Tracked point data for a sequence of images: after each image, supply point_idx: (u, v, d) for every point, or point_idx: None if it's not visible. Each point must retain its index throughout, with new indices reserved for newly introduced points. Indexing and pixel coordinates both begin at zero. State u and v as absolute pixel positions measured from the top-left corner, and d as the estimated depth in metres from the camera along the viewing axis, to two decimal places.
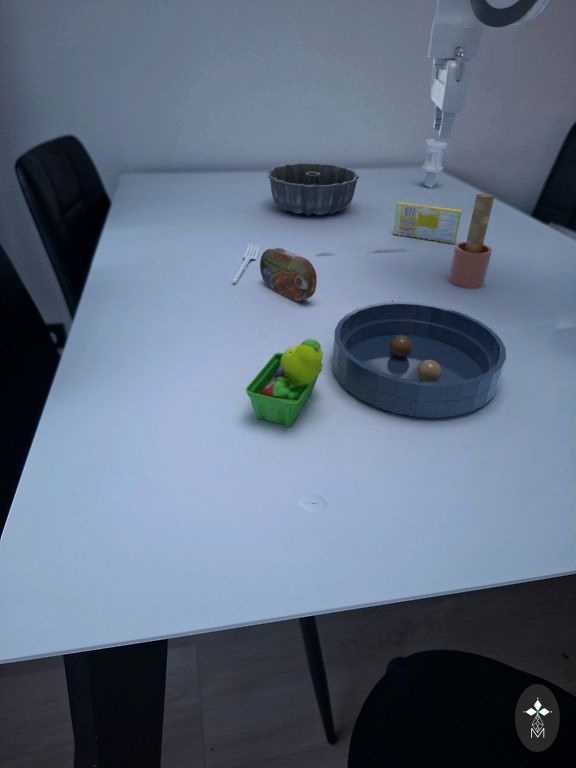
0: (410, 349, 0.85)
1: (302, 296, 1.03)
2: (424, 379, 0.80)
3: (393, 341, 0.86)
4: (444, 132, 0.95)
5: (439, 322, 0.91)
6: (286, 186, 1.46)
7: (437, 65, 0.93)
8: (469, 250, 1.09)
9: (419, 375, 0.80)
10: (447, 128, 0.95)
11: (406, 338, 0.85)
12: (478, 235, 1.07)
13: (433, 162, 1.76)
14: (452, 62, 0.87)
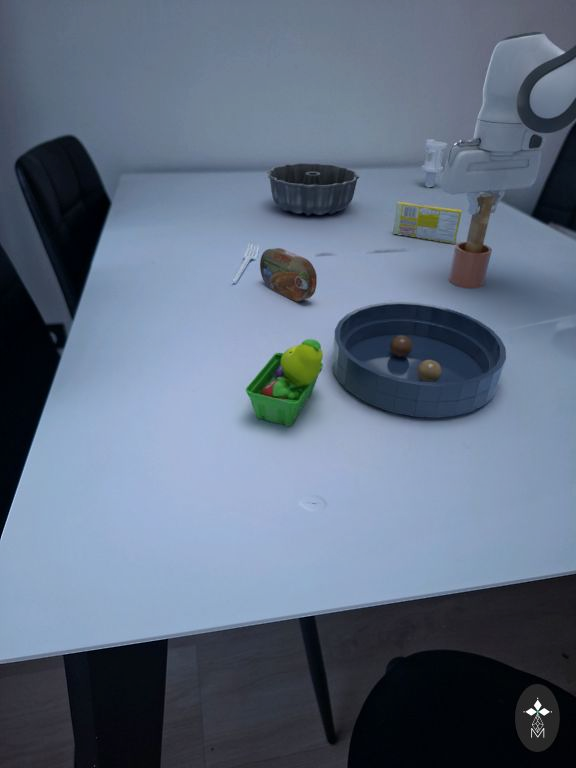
0: (410, 349, 0.85)
1: (302, 296, 1.03)
2: (424, 379, 0.80)
3: (393, 341, 0.86)
4: (471, 208, 1.04)
5: (439, 322, 0.91)
6: (286, 186, 1.46)
7: None
8: (469, 250, 1.09)
9: (419, 375, 0.80)
10: (473, 206, 1.04)
11: (406, 338, 0.85)
12: (478, 235, 1.07)
13: (433, 162, 1.76)
14: None
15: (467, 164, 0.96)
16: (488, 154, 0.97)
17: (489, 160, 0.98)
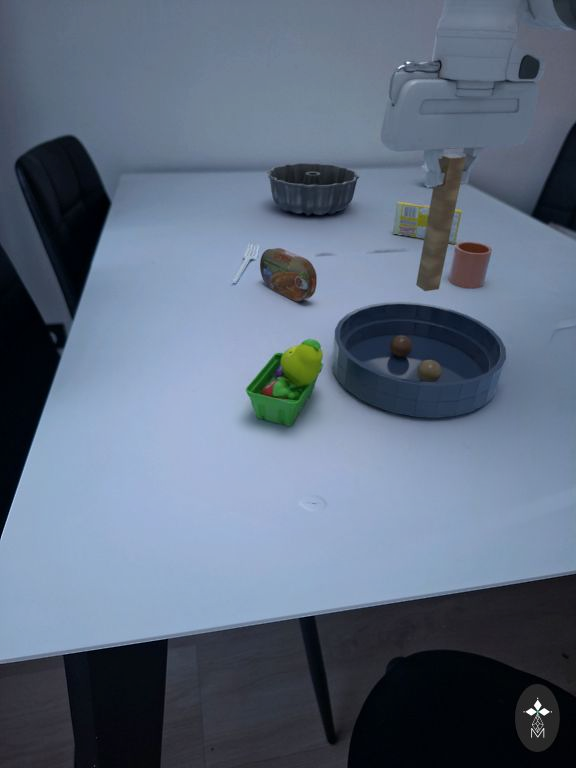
0: (410, 349, 0.85)
1: (302, 296, 1.03)
2: (424, 379, 0.80)
3: (393, 341, 0.86)
4: (431, 177, 0.68)
5: (439, 322, 0.91)
6: (286, 186, 1.46)
7: None
8: (430, 241, 0.73)
9: (419, 375, 0.80)
10: (433, 172, 0.68)
11: (406, 338, 0.85)
12: (443, 218, 0.71)
13: None
14: None
15: (420, 101, 0.60)
16: (454, 86, 0.61)
17: (455, 97, 0.62)
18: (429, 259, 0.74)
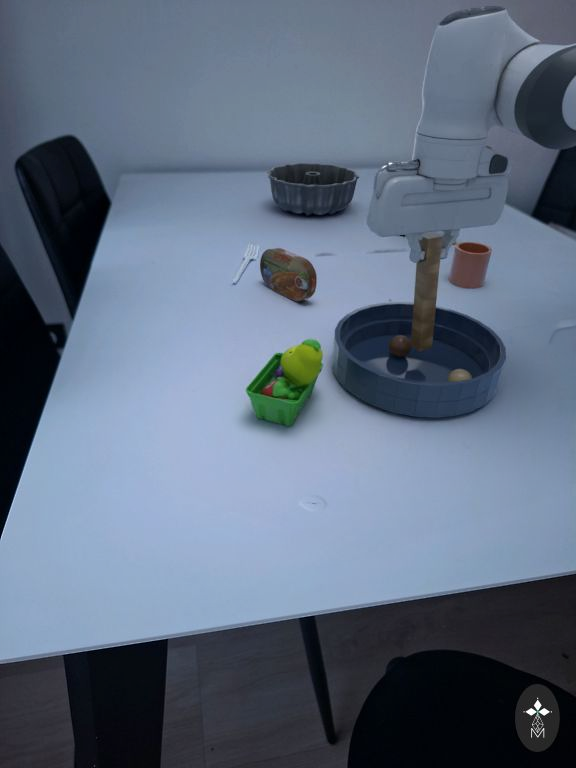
0: (409, 348, 0.85)
1: (302, 296, 1.03)
2: (454, 381, 0.77)
3: (391, 341, 0.86)
4: (412, 254, 0.76)
5: (439, 322, 0.91)
6: (286, 186, 1.46)
7: None
8: (419, 308, 0.81)
9: None
10: (414, 250, 0.75)
11: (404, 337, 0.85)
12: (428, 289, 0.78)
13: None
14: None
15: (401, 196, 0.68)
16: (431, 182, 0.68)
17: (433, 190, 0.69)
18: (420, 324, 0.81)
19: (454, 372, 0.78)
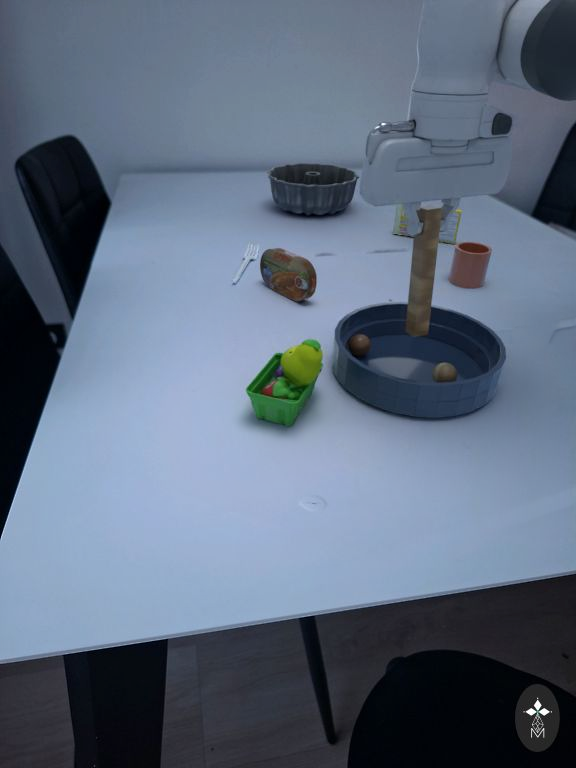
0: (354, 353, 0.86)
1: (302, 296, 1.03)
2: (435, 377, 0.79)
3: (370, 346, 0.86)
4: (410, 226, 0.70)
5: (439, 322, 0.91)
6: (286, 186, 1.46)
7: None
8: (415, 288, 0.75)
9: (437, 370, 0.79)
10: (412, 222, 0.69)
11: None
12: (425, 266, 0.72)
13: None
14: None
15: (395, 160, 0.62)
16: (428, 144, 0.63)
17: (431, 154, 0.63)
18: (416, 306, 0.75)
19: None
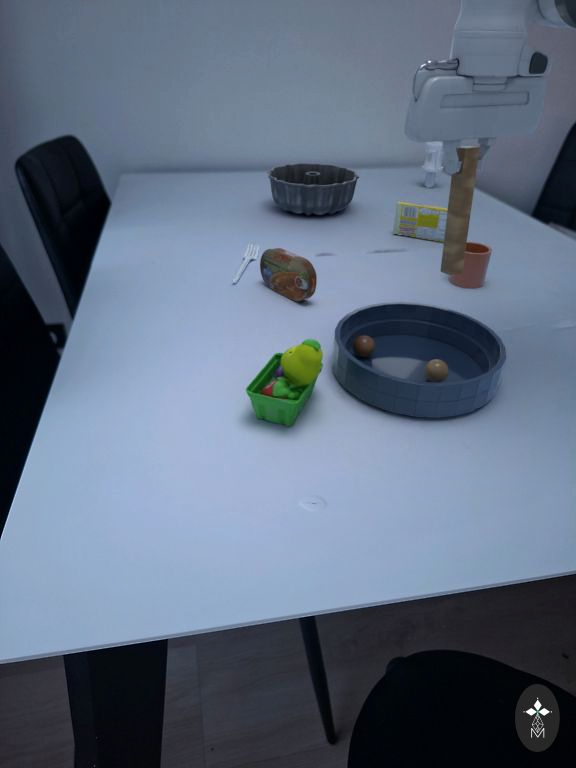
0: (356, 353, 0.86)
1: (302, 296, 1.03)
2: (427, 376, 0.80)
3: None
4: (449, 165, 0.75)
5: (439, 322, 0.91)
6: (286, 186, 1.46)
7: None
8: (451, 227, 0.79)
9: (425, 370, 0.80)
10: (451, 161, 0.74)
11: None
12: (462, 205, 0.77)
13: (433, 162, 1.76)
14: None
15: (440, 96, 0.67)
16: (470, 82, 0.67)
17: (472, 91, 0.68)
18: (452, 244, 0.80)
19: None
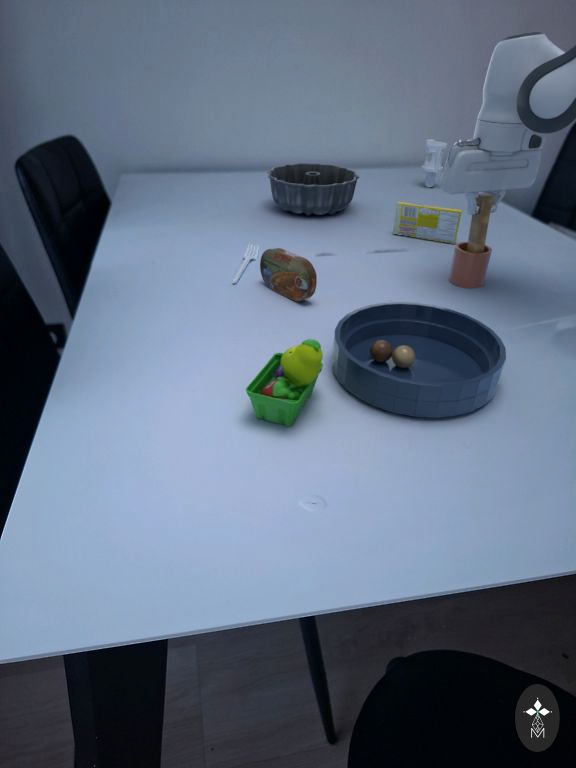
0: (374, 350, 0.84)
1: (302, 296, 1.03)
2: (400, 359, 0.82)
3: None
4: (469, 208, 1.04)
5: (439, 322, 0.91)
6: (286, 186, 1.46)
7: None
8: (471, 251, 1.09)
9: (405, 362, 0.82)
10: (471, 206, 1.04)
11: None
12: (479, 235, 1.06)
13: (433, 162, 1.76)
14: None
15: (467, 164, 0.96)
16: (488, 154, 0.97)
17: (489, 160, 0.98)
18: None
19: (406, 351, 0.82)
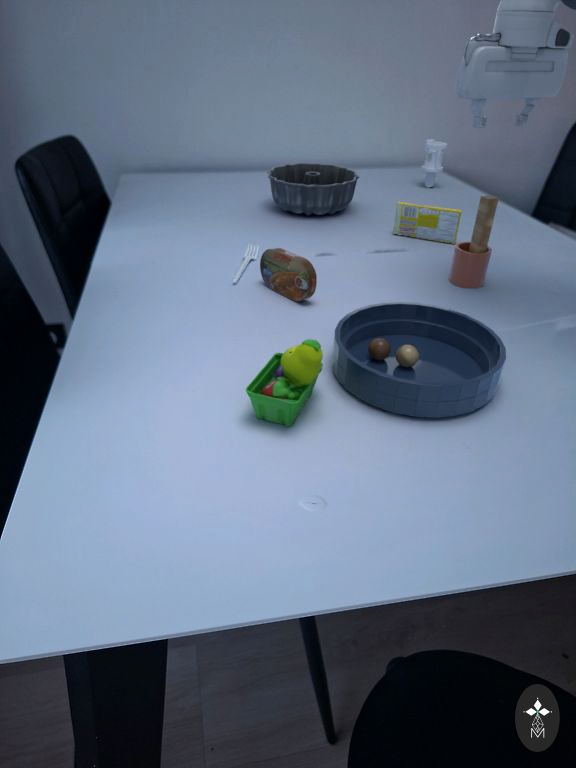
0: (371, 347, 0.85)
1: (302, 296, 1.03)
2: (406, 355, 0.82)
3: None
4: (475, 121, 0.92)
5: (439, 322, 0.91)
6: (286, 186, 1.46)
7: None
8: (473, 252, 1.08)
9: (409, 360, 0.82)
10: (477, 117, 0.92)
11: None
12: (482, 237, 1.06)
13: (433, 162, 1.76)
14: None
15: (486, 62, 0.85)
16: (509, 51, 0.86)
17: (510, 59, 0.87)
18: None
19: (413, 349, 0.83)
